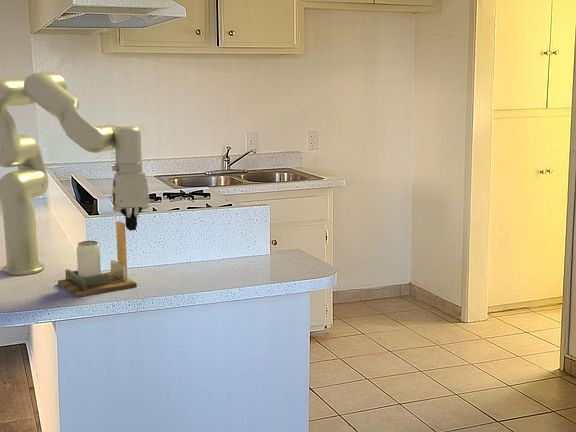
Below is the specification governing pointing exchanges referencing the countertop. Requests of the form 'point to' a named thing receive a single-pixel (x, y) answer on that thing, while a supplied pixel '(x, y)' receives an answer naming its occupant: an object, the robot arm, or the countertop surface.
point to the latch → (120, 253)
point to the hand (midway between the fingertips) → (131, 229)
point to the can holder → (86, 280)
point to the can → (88, 259)
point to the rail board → (113, 286)
